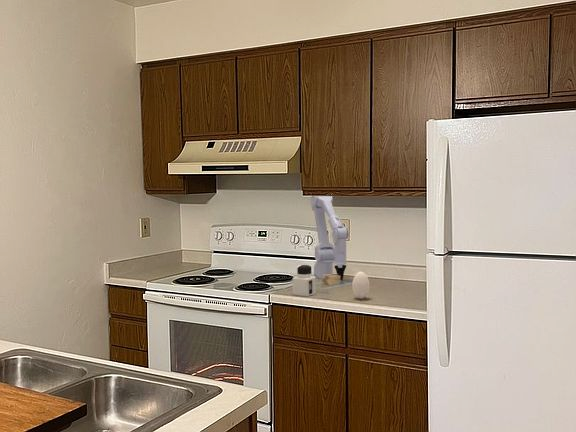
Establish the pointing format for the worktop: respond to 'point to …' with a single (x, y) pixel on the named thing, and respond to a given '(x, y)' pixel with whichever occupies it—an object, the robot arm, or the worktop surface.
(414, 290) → the worktop surface
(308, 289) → the container
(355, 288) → the egg
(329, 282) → the oak block
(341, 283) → the board
